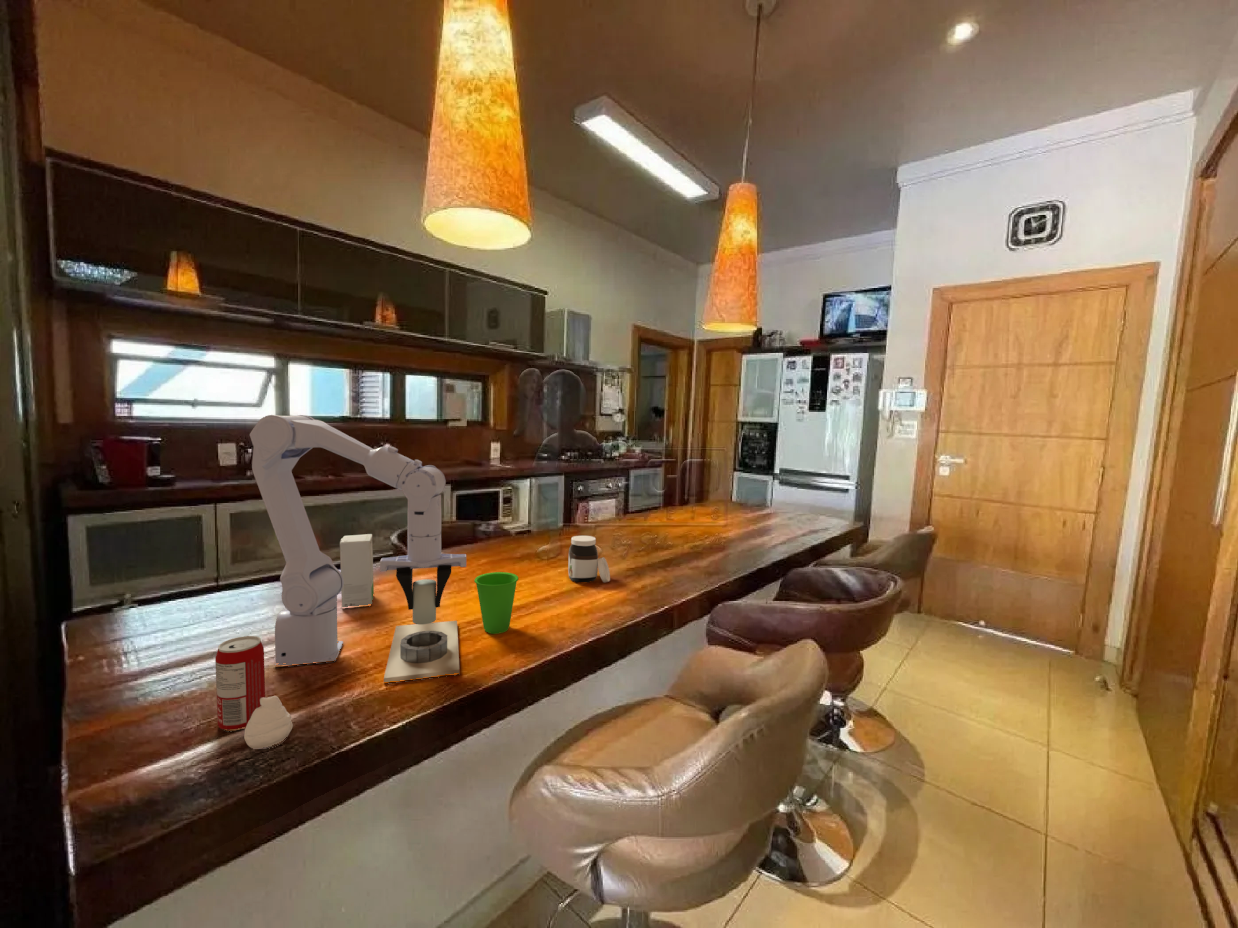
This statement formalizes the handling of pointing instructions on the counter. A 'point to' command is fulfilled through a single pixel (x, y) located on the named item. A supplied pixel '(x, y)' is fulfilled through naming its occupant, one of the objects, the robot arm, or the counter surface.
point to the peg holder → (423, 651)
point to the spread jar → (586, 561)
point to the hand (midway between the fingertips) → (424, 606)
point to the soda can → (239, 680)
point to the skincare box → (357, 570)
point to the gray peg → (424, 601)
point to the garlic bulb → (268, 724)
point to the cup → (496, 599)
